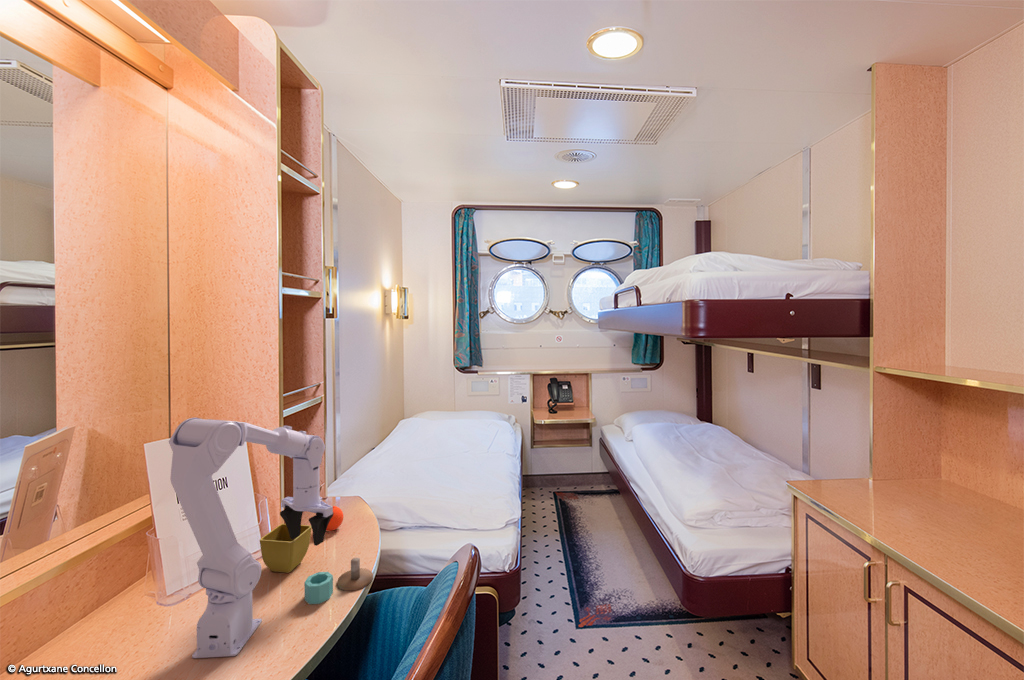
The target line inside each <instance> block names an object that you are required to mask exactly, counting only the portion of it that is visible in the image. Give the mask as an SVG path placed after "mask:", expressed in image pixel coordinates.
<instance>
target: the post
mask: <svg viewBox="0 0 1024 680" xmlns="http://www.w3.org/2000/svg"><path fill="white" fill-rule="evenodd" d="M360 564H361V560H360V558H359V557H354V558H351V560H350V570H348V571H345V572H344V573H341V575H340V576H339V577H338V579H337V587H338V589H339V590H342V591H346V592H347V591H348V592H350V591H351V592H352V591H358V590H361V589H364V588H366V587H367V586H369V584H371V583H372V581H373V579H374V573H373V572H372V570H370V569H368V568H361V565H360Z"/></svg>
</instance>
